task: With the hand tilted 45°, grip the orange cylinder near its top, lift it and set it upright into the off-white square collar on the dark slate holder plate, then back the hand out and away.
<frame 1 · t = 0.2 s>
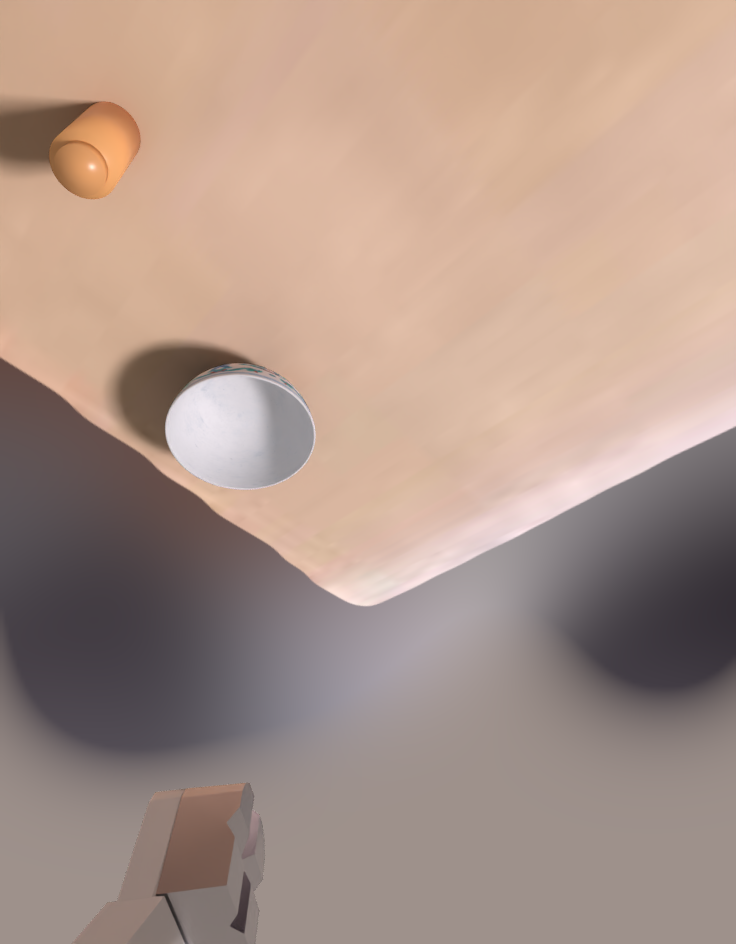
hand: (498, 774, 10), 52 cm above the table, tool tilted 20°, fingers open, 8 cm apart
chinaware: (245, 392, 66), on the table
orange cylinder: (111, 133, 47), on the table
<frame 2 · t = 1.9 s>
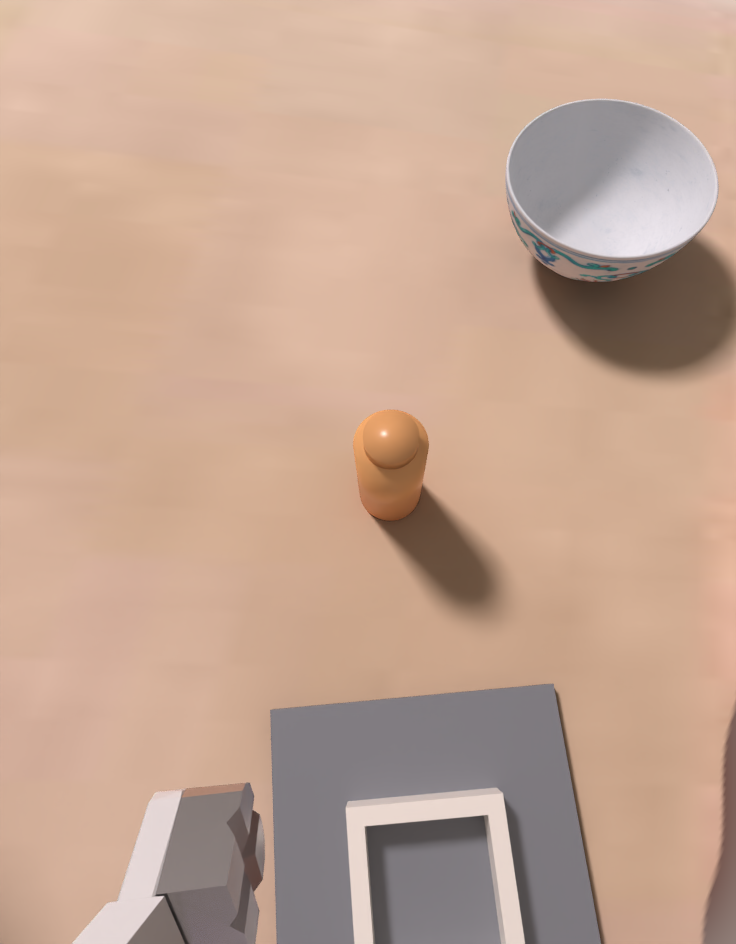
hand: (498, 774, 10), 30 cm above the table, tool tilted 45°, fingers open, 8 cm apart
holder: (430, 878, 35), on the table
chinaware: (577, 249, 50), on the table
orange cylinder: (389, 491, 43), on the table
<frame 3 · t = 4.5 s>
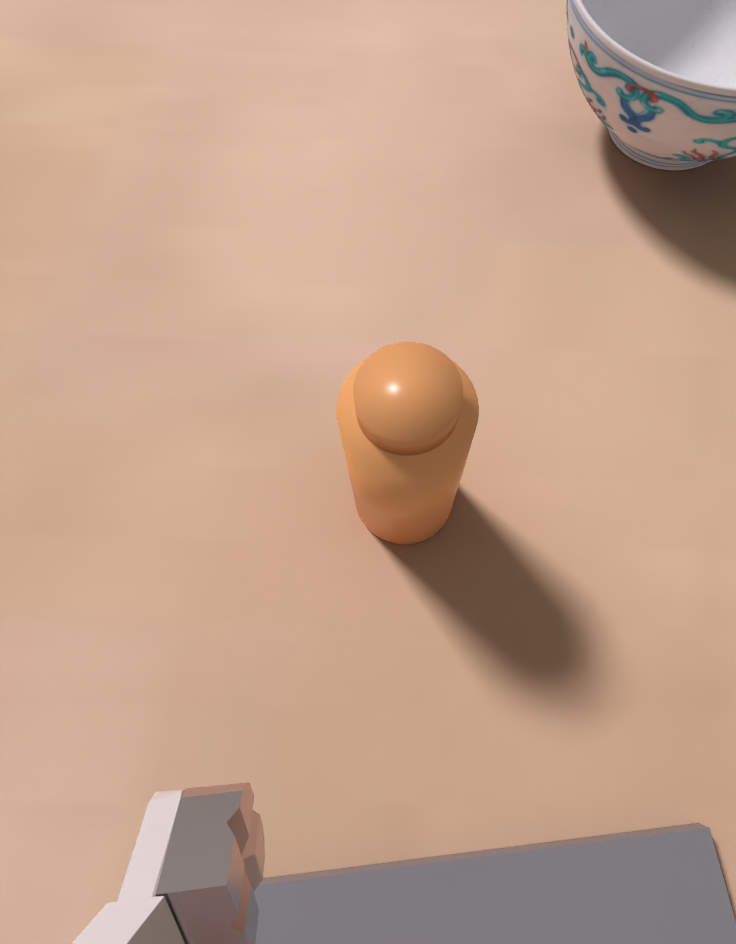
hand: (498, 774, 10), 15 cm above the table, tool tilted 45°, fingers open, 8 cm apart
chinaware: (665, 130, 34), on the table
orange cylinder: (403, 496, 27), on the table
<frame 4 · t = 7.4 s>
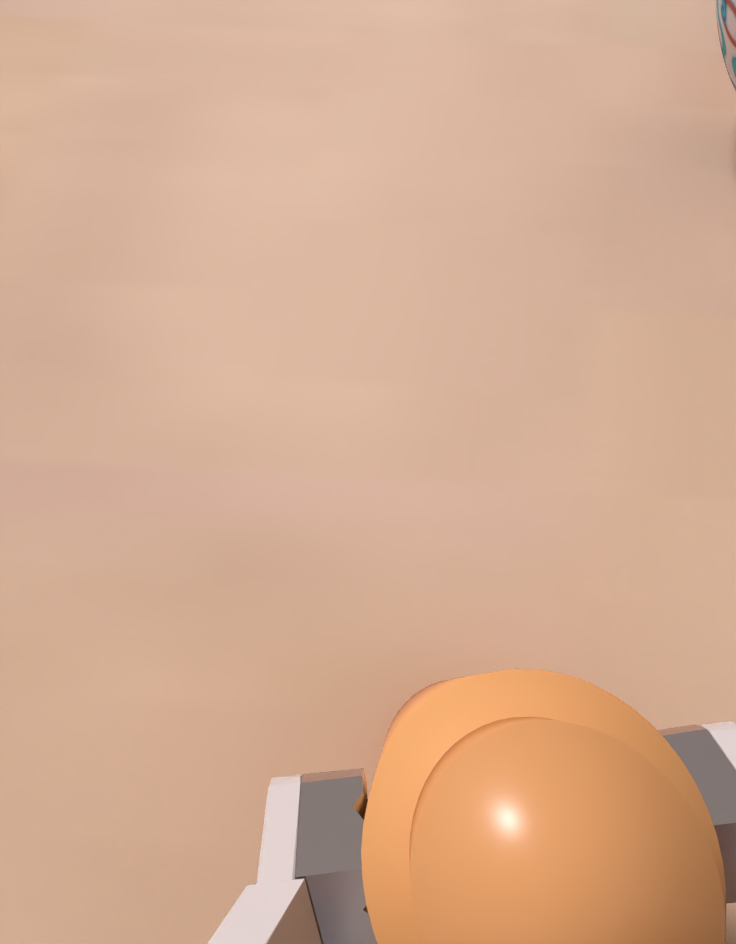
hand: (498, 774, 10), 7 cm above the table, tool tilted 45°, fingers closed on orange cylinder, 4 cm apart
orange cylinder: (464, 766, 16), on the table, touching gripper
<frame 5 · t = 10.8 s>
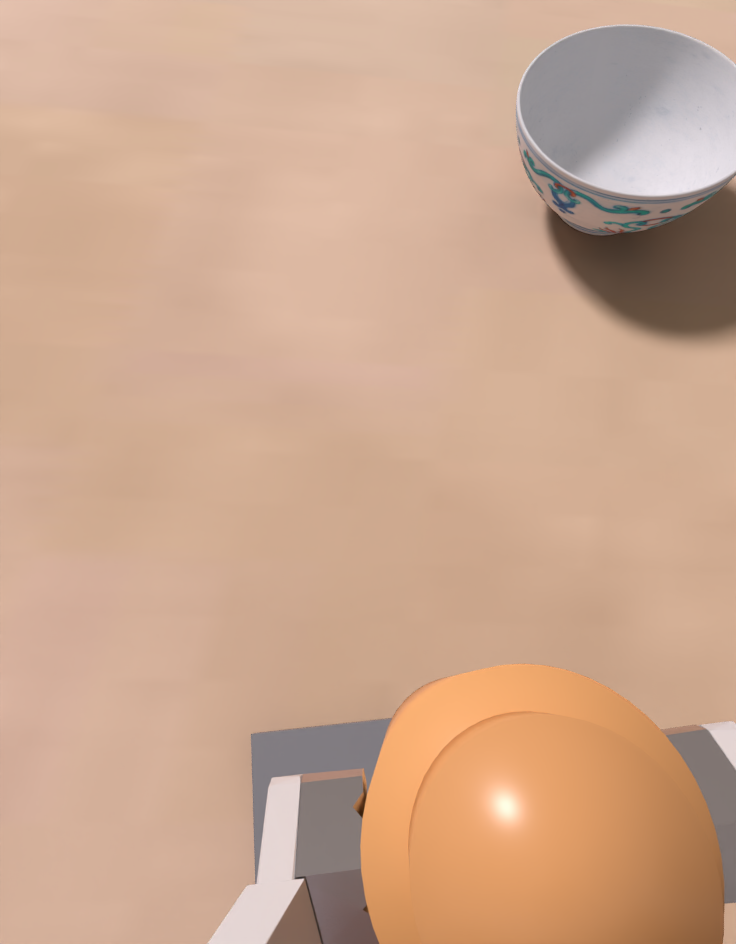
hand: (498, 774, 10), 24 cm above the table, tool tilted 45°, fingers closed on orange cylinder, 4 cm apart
holder: (445, 937, 28), on the table
chinaware: (596, 202, 44), on the table
orange cylinder: (463, 763, 16), point 17 cm above the table, touching gripper
when the fingers open (9 cm above the table, at t = 14.6 s): orange cylinder drops 1 cm, resting on holder.
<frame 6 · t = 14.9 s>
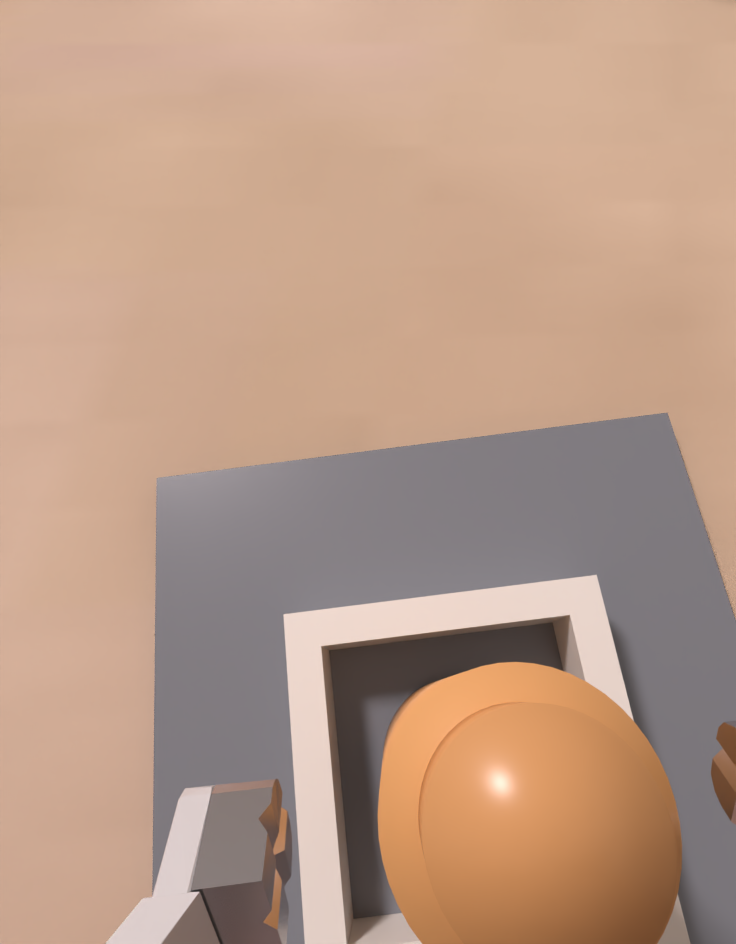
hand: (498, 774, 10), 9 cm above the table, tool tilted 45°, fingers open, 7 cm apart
holder: (457, 757, 18), on the table
orange cylinder: (458, 758, 17), point 1 cm above the table, touching holder
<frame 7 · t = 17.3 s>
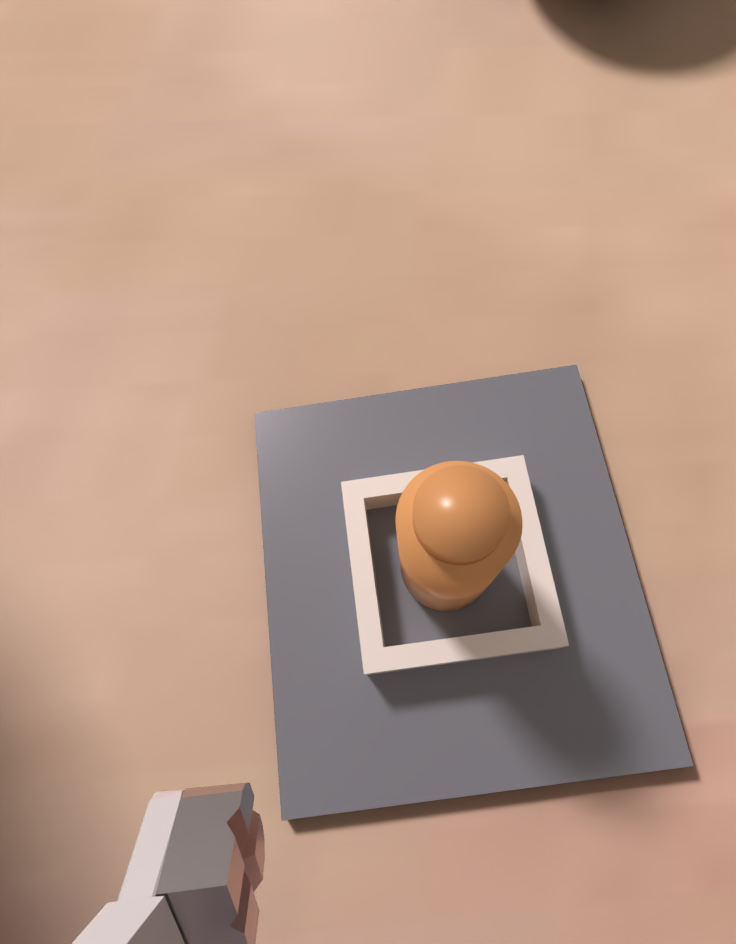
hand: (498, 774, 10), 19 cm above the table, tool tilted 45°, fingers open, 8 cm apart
holder: (445, 569, 30), on the table
orange cylinder: (445, 566, 29), point 1 cm above the table, touching holder
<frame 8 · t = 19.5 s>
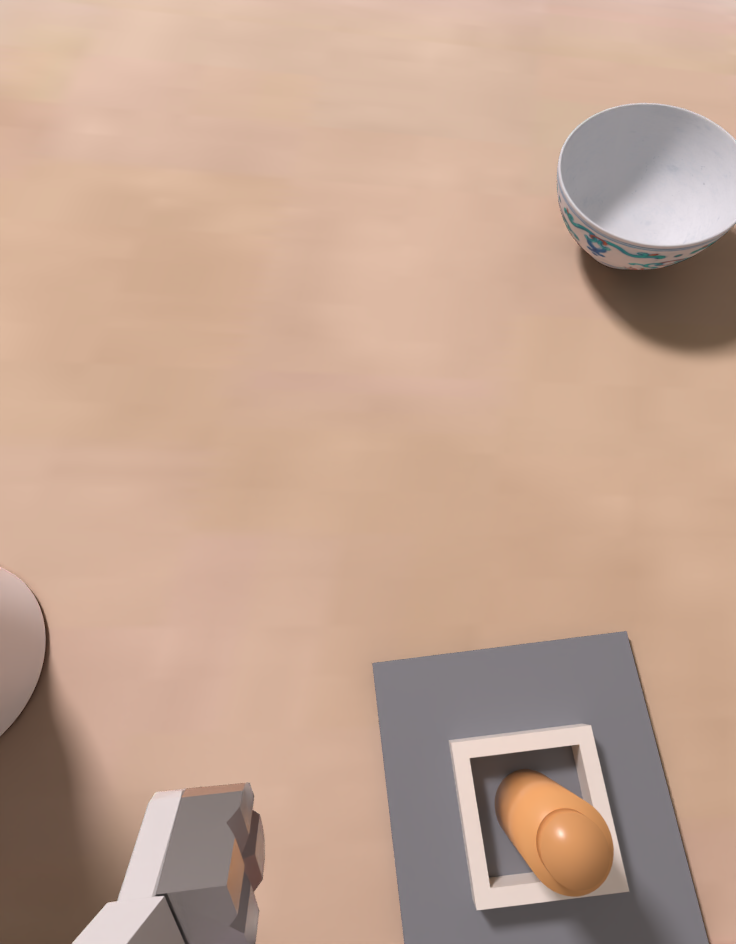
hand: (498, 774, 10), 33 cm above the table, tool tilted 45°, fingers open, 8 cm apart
holder: (526, 805, 39), on the table
chinaware: (619, 241, 54), on the table
orange cylinder: (529, 807, 38), point 1 cm above the table, touching holder
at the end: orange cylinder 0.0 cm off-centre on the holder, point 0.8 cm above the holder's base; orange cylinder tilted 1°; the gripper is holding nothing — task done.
